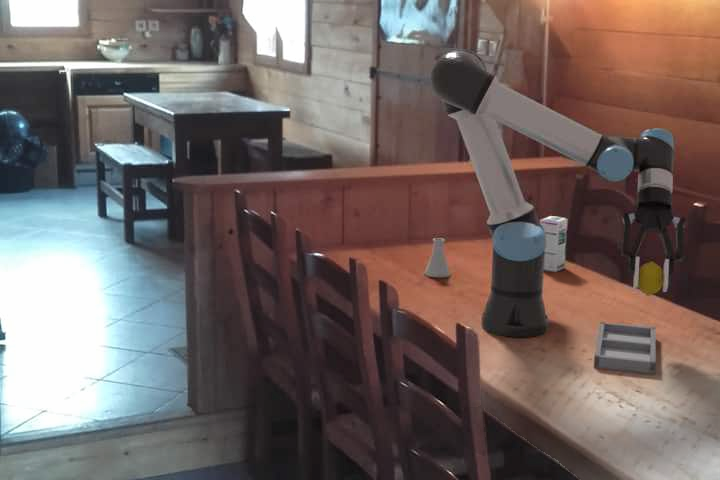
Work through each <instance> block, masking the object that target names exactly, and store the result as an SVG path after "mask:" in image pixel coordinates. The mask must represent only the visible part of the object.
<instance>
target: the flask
mask: <svg viewBox="0 0 720 480" xmlns="http://www.w3.org/2000/svg"><path fill="white" fill-rule="evenodd" d="M432 241H433V248H432V253H431V254H430V257H429V261H428V263H427V266H426V268H425V271H424V275H426V276H427V277H429V278H448V277H450V276H451V271H450V267H449V264H448V261H447V258H446V254H445V251H444V250H445V249H444V242H445V239H444V238H440V237H437V238H433V239H432Z"/></svg>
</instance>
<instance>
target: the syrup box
mask: <svg viewBox="0 0 720 480" xmlns="http://www.w3.org/2000/svg"><path fill="white" fill-rule="evenodd" d="M568 222H569V221H568V218H566V217H562V216H554V215H549V216H547V217H545V218H541V219H540V220H539V223H540V224H541V226H542V227H543V229H544V231H545V234H546V248H545V258H544V271H547V272H554V273H557V272H558V271H561V270H563V269H565V268H566V258H567V240H568V239H567V237H568V235H567V234H568Z"/></svg>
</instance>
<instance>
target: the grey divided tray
mask: <svg viewBox="0 0 720 480" xmlns="http://www.w3.org/2000/svg"><path fill="white" fill-rule="evenodd" d="M656 345H657V344H656V327H655V326H654V327H653V326H652V327H651V326H645V325H644V326H643V325H635V324H624V323H613V322H605V321H603V322H602V321H600V323H599V327H598V334H597V340H596V346H595V353H594V357H593V358H594V361H593V369H602V370H610V371H611V370H612V371H618V372H628V373H639V374H644V375H645V374H646V375H655V372H656V359H657V358H656V353H657V352H656V348H657V347H656Z"/></svg>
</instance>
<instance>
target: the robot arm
mask: <svg viewBox="0 0 720 480" xmlns="http://www.w3.org/2000/svg"><path fill="white" fill-rule="evenodd" d="M429 79H430V85H431V89H432V91H433V92H434V94H435V96H436V97H437V98H438V99H440V100H441V101H442V103H443V107H444V110H445V111H446V114H447V117H450V118H452V119H454V120H456V123H457V126H458V128H459V132H460V134H461V136H462V139H463V142H464V144H465V147H466V150H467V152H468V155H469V158H470V161H471V164H472V166H473V169H474V172H475V175H476V178H477V179H478V184H479V187H480V189H481V192H482V195H483V196H484V200H485V203H486V205H487V208H488V211H489V213H490V214H489V216H488V219H487V220H486V223H487V226H488V230H489V232H490V234H491V238H492V240H491V241H492V243H491V244H492V258H491V259H492V261H491V262H492V263H491V278H490V279H491V281H490V283H491V284H490V294H489V296H488V299H487V302H486V305H485V308H484V310H483V312H482V314H481V327H482V329H484V330H486V331H488V332H489V333H491V334H495V335H499V336H503V337H509V338H510V337H511V338H532V337H536V336H541V335H543V334H545V333H546V332H547V331H548V329H549V318H548V315H547V313H546V308H545V302H544V299H543V287H544V274H545V273H544V272H545V270H544V258H545V248H546V234H545V231H544V229H543V227H542V226H541V224H540V220H539V219H538V215H537V212H536V211H535V207H534V205H532V204H530V203H528V202H526V200H525V198H524V195H523V193H522V191H521V188H520V185H519V182H518V179H517V175H516V173H515V170H514V168H513V166H512V165H513V164H512V162H511V159H510V156H509V154H508V151H507V148H506V145H505V143H504V139H503V137H502V134H501V132H500V129H499V125H498V123H500V124H502V125H504V126H506V127H508V128H510V129H512V130H514V131H516V132H518V133H520V134H522V135H524V136H526V137H527V138H530V139H532V140H533V141H536V142H537V143H540V144H541V145H544V146H545V147H548V148H550V149H552V150H554V151H556V152H558V153H559V154H562V155H564V156H565V157H567V158H570V159H571V160H573V161H576V162H578V163H580V164H582V165H583V166H586V167H587V168H589V169H591V170H593V171H595V172H597V173H598V174H600V176H601V177H603V179H606V180H607V181H610V182H619V181H622V180H624V179H627V177H628V176H630V175H631V173H632V171H633V172H638V175H637V176H638V178H637V195H636V209H635V211H634V212H633V213H629V214H628V212H623V214H622V219H621V221H622V224H623V235H622V245H621V257H622V258H626V259H628V261H629V265H628V266H629V267H628V272H629V274H633V287H632V290H637V289H638V288H639V287H638V276H639V269H640V256H637V255H638V253H639V250H640V247H641V245H642V243H643V240H644V237H645V235H646V233H650V232H653V233H657V234H658V236H659V238H660V240H661V243H662V247H663V252H664V254H665V259H664V263H663V284H662V293H665V292H666V293H667V291H668V288H669V277H671V278H672V277H673V276H674V272H675V263H681V262H682V261H683V258H684V227H685V225H686V220H687V219H686V217H684V216H681V217H677V216H674V215H675V214H674V212H673V210H672V209H673V194H672V193H673V191H674V190H673V189H674V188H673V185H674V184H673V183H674V179H673V176H674V162H675V161H674V159H675V158H674V157H675V145H674V144H675V143H674V136H673V134H672V133H671V132H670V131H668V130H666V129H664V128H659V127H656V128H655V127H654V128H653V129H649V128H648V129H646V130H644V132H642V133H641V134H640V137H637V138H636V137H626V136H625V137H623V136H613V135H606V134H600V133H598V132H596V131H595V130H593V129H590V128H588V127H586V126H584V125H583V124H581V123H578V122H577V121H575V120H573V119H571V118H569V117H567V116H565V115H563V114H561V113H559V112H557V111H556V110H553V109H551V108H549V107H548V106H545V105H543V104H541V103H539V102H537V101H535V100H533V99H532V98H529V97H527V96H526V95H523V94H521V93H520V92H517V91H516V90H514V89H512V88H510V87H508V86H506V85H504V84H502V83H500V82H499V79H498V77H497V76H496V75H495V74H493V73H490V72H488V68H487V66H486V64H485V62H484V60H483V59H482V58H481V57H480V56H479V55H478V54H477V53H476V52H474V51H471V50H469V49H455V50H451V51H450V52H447V53H446V54H444V55H442V56H441V57H439V58H438V59H437V60H436V62H435V63H434V64H433V66H432V69H431V71H430V77H429ZM497 122H498V123H497ZM634 221H636V222H637V225H638V226H640V228H639V231H638V233H637V236H636V238H635V241H634V244H633V246H632V249H631V250H629V245H630V244H629V241H630V233H631V225H632V224H633V223H634ZM671 223H673V227H674V228H675V254H674V249H673V245H672V243H671V240H670V235H669V232H668V227H669V226H670V224H671Z"/></svg>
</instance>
